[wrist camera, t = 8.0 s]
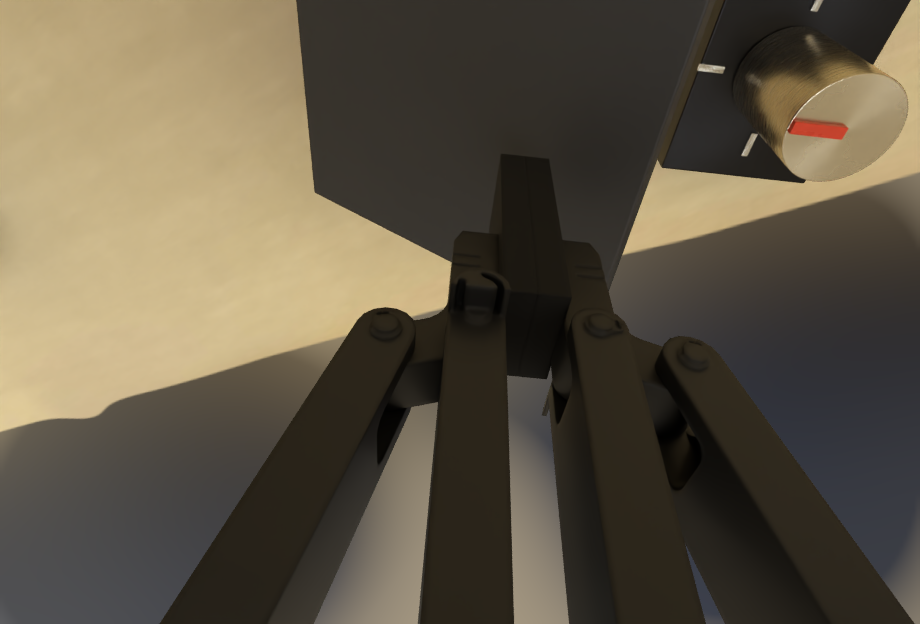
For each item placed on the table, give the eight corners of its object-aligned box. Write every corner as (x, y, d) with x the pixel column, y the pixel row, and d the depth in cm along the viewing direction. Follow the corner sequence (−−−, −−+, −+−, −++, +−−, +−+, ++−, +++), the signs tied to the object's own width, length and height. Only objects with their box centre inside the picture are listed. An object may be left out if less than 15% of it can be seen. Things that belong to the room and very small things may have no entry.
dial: (853, 31, 28) (940, 83, 22) (802, 126, 31) (867, 190, 26) (757, 20, 28) (822, 69, 22) (717, 116, 31) (764, 179, 26)
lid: (719, -10, 14) (711, -5, 14) (597, 322, 22) (589, 333, 22) (302, -105, 20) (285, -104, 19) (325, 187, 28) (313, 192, 27)
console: (730, -76, 27) (749, -68, 25) (909, -54, 27) (941, -44, 25) (650, 149, 35) (660, 169, 33) (789, 165, 35) (807, 185, 33)
